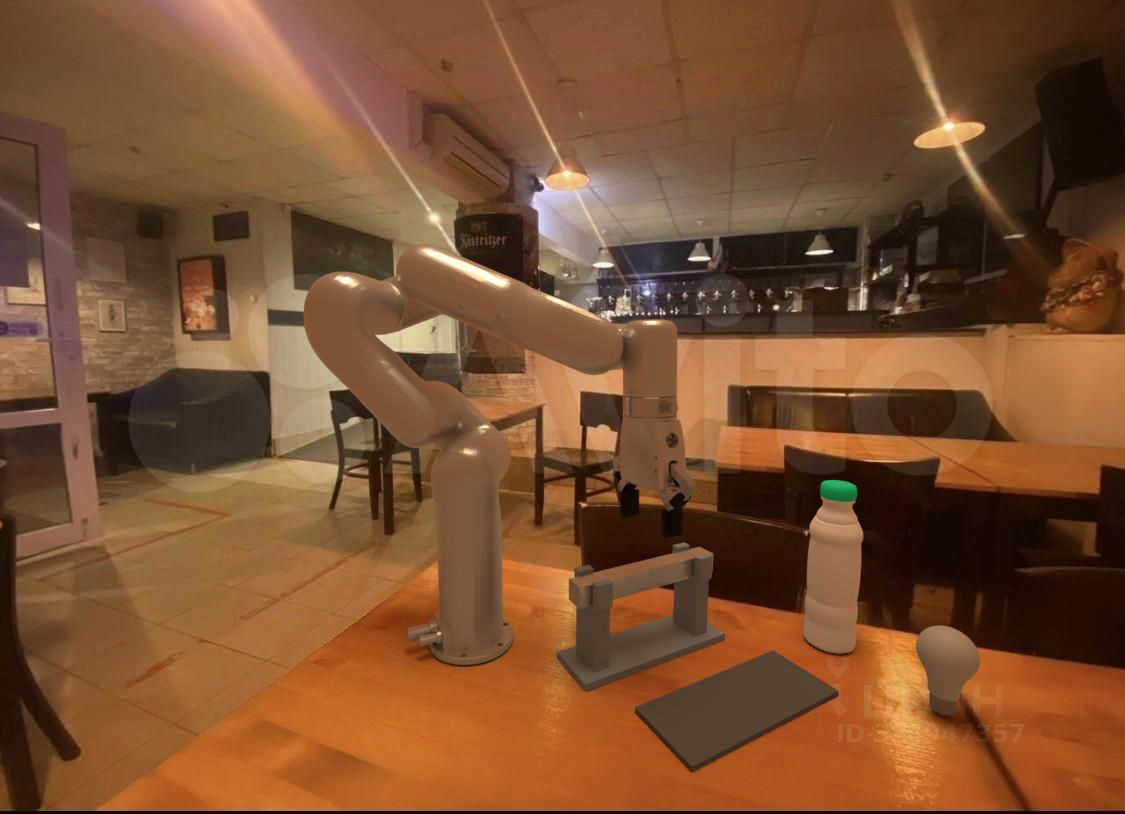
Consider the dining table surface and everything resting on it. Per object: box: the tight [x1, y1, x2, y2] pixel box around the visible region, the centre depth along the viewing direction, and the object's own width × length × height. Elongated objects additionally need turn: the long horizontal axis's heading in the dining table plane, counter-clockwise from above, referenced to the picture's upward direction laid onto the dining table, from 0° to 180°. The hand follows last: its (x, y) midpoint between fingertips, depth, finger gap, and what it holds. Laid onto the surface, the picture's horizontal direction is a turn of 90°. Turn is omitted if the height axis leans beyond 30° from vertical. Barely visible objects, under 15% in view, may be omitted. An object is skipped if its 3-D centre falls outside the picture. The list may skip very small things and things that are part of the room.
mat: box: [634, 649, 840, 773], centre depth 62 cm, size 25×10×1 cm, turn 118°
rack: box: [556, 542, 726, 692], centre depth 73 cm, size 25×8×14 cm, turn 118°
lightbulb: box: [915, 625, 981, 717], centre depth 60 cm, size 6×6×11 cm
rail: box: [568, 546, 714, 609], centre depth 73 cm, size 24×3×3 cm, turn 118°
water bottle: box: [802, 479, 864, 655], centre depth 74 cm, size 7×7×25 cm
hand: (649, 525), depth 72 cm, fingers open, 9 cm apart
